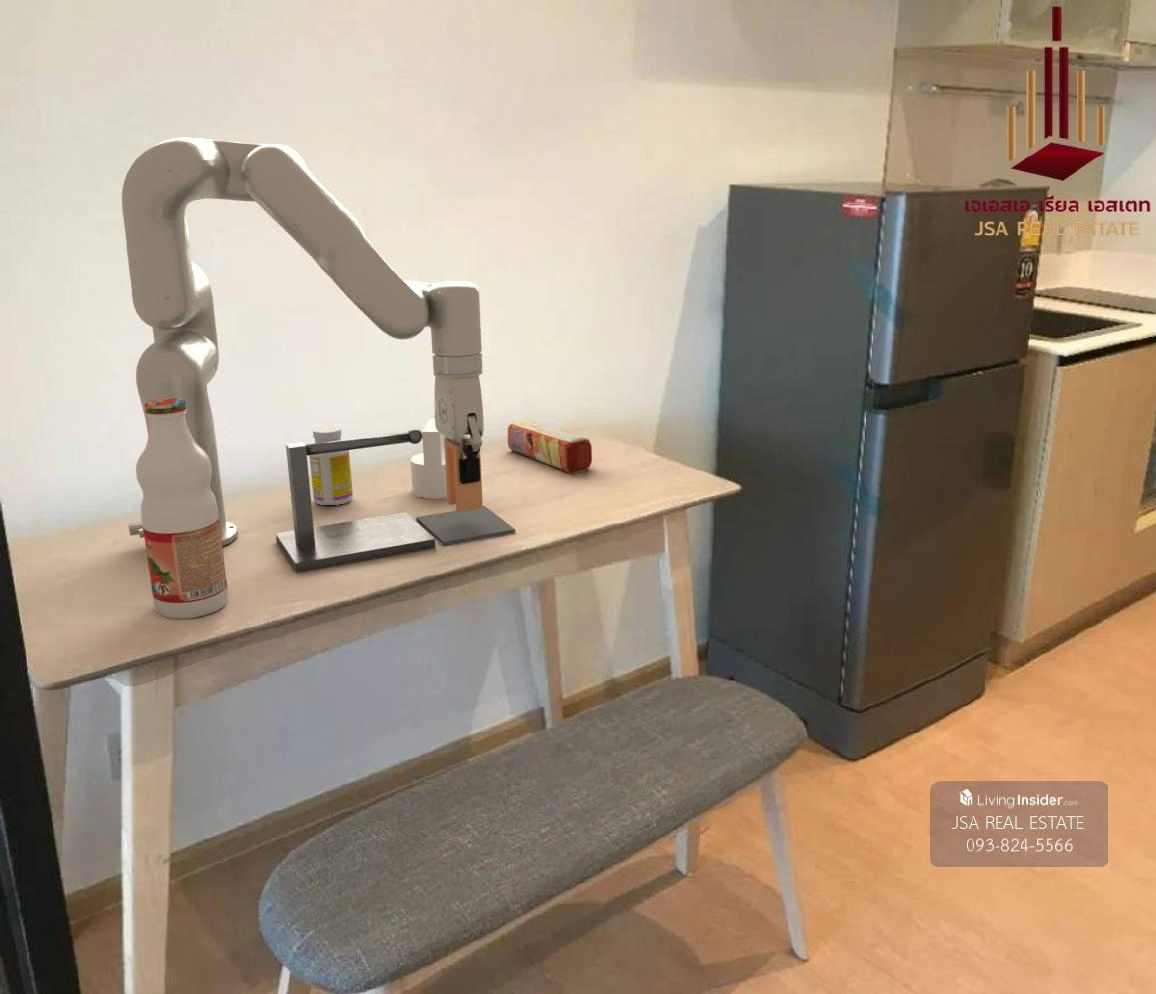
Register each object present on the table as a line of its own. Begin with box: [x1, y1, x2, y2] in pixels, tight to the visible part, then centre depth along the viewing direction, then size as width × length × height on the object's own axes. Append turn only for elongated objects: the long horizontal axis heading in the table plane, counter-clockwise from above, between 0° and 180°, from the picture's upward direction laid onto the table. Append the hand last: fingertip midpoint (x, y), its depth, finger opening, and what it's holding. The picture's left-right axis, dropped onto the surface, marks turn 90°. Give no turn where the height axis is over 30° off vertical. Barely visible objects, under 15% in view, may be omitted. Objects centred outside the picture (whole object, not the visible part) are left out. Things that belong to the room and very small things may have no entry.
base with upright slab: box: [410, 418, 447, 500], centre depth 187 cm, size 9×9×12 cm
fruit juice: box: [135, 398, 229, 620], centre depth 138 cm, size 9×9×28 cm
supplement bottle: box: [309, 425, 354, 506], centre depth 182 cm, size 7×7×13 cm
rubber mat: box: [415, 505, 516, 547], centre depth 171 cm, size 12×13×1 cm
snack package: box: [507, 419, 593, 474], centre depth 206 cm, size 21×7×7 cm, turn 36°
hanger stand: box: [275, 427, 436, 574], centre depth 161 cm, size 22×14×17 cm, turn 117°
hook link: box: [444, 435, 484, 512], centre depth 168 cm, size 4×5×11 cm
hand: (463, 476), depth 168 cm, fingers closed on hook link, 5 cm apart
